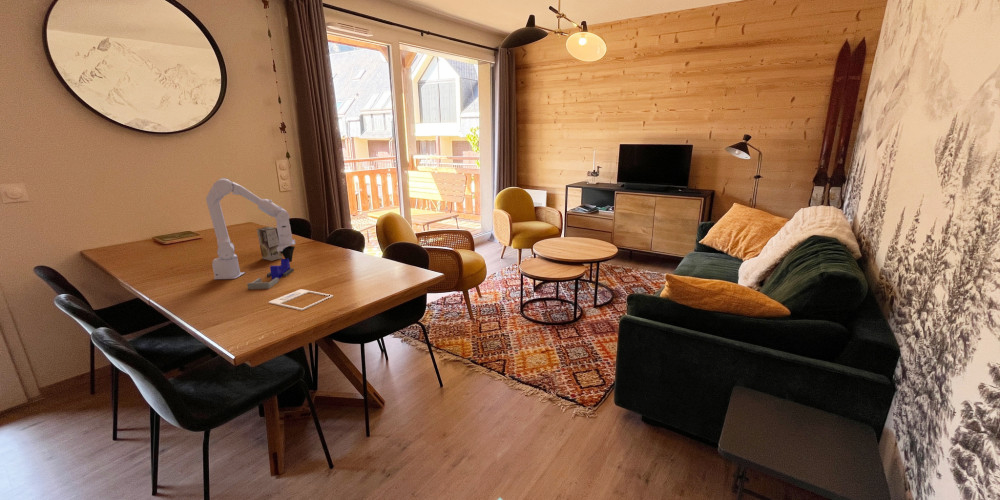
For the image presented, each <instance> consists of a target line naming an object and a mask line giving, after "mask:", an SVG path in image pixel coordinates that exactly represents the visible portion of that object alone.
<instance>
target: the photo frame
mask: <svg viewBox="0 0 1000 500" xmlns="http://www.w3.org/2000/svg"><path fill="white" fill-rule="evenodd" d="M308 293H309V294H315V295H318V296H319V295H320V296H324V295H325V298H322V299H320V300H318V301H316V302H313V303H311V304H309V305H306V306H305V307H303V308H302V307H297V306H293V305H288V304H285V303H287V302H290V301H292V300H294V299H296V298H299V297H302V296H304V295H306V294H308ZM329 295H330V296H329ZM333 297H334V294H328V293H325V292H324V293H322V292H318V291H314V290H313V291H312V290H308V289H302V288H300V289H297V290H295V291H293V292H290V293H287V294H284V295H282V296H280V297H279V296H278V297H277V298H275V299H272V300H270V301H268V304H272V305H275V306H280V307H283V308H289V309H294V310H298V311H301V312H302V311H305V310H308V309H309V308H311V307H313V306H315V305H316V306H317V305H318V304H320V303H322V301H323V302H325V301H326V299H327V300H329V299H331V298H333ZM328 298H329V299H328ZM324 300H325V301H324Z"/></svg>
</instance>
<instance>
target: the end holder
mask: <svg viewBox="0 0 1000 500" xmlns="http://www.w3.org/2000/svg"><path fill="white" fill-rule="evenodd" d="M279 282H280V279H279V278H275V279H271V280H270V281H269V282H268V281H267V282H266V281H264V282H263V281H262V278H261V277H258V278H256V279H255V280H253V281H252V282H247V284H246V285H247V289H248V290H265V289H266V290H269V289H270V288H272V287H274V286H275V285H276V284H278V283H279Z"/></svg>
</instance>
